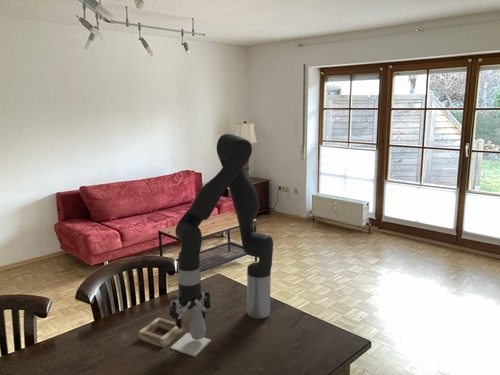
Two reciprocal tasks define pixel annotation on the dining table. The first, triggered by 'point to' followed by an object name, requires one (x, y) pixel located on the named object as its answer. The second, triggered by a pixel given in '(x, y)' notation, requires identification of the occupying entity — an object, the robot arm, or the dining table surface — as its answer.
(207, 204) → the robot arm
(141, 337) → the oak collar
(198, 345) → the felt pad
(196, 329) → the salt shaker
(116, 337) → the dining table surface
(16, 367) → the dining table surface
